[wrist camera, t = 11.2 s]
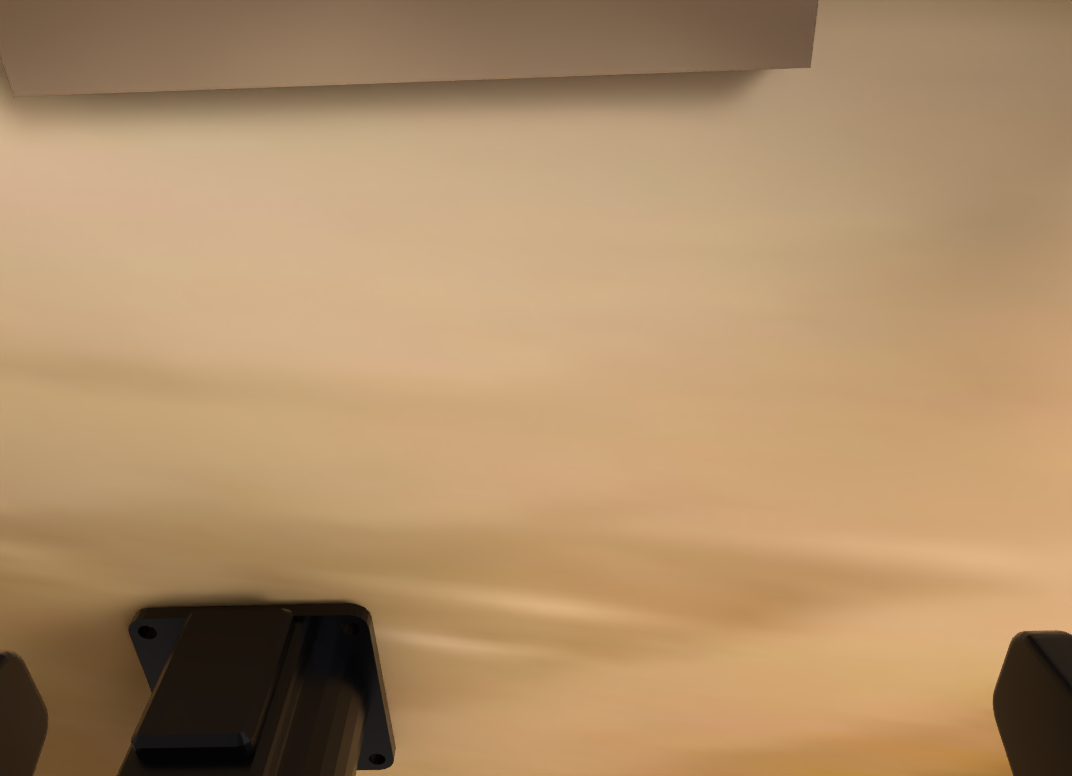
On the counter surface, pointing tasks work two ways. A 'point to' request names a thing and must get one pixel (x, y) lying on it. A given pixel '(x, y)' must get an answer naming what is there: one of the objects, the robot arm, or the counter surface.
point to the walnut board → (384, 41)
